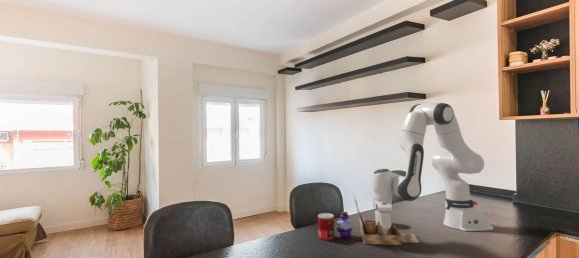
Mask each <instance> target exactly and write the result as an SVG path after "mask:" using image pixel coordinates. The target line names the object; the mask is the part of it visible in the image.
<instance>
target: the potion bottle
mask: <svg viewBox="0 0 579 258" xmlns="http://www.w3.org/2000/svg"><path fill="white" fill-rule="evenodd" d="M339 218H340V219H341V220H337V221H336V222H335V224H336V228H335V229H336V231H337V232H338V235H339V238H340V239H342V240H343V239H345V240H349V239H351V236H352V235H351V234H352V230H353V229H354V228H353V227H354V222H353V221H351V220H349V218H350V214H348V212H347V211H341V212H340V215H339Z"/></svg>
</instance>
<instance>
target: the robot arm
mask: <svg viewBox="0 0 579 258" xmlns="http://www.w3.org/2000/svg"><path fill="white" fill-rule="evenodd" d="M456 117H457V116H456V115H455V112H454V109H453V107H452V106H451V105H450V104H448V103H447V102H446V103H444V102H428V103H417V104H414V105H413V106H412V107H411V108H410V109H409V112H408V113H407V114H406V117H405V118H404V121H403V123H402V125H401V129H400V131H399V132H400V133H399V137H398V144H399V146H400V148H401V149H402V150H403V151H404V152H405V154H406V155H407V159H408V161H407V166H406V173H405V175H404V176H403V175H401V174H400V175H399V174H398V173H395V172H392V171H391V170H390V169H387V168H379V169H377V170H375V171H374V172H373V174H372V179H371V180H372V183H371V184H372V187H371V188H372V191H373V194H372V207H373V208H374V209H375V208H376V216H377V218H378V220H379V222H380V225H381V227H382V228H383V235H387V231H388V229H390V228H391V212H392V213H393V210H394V209H393V196H396V197H398V198H399V197H400V198H401V199H403V200H405V201H407V202H413V201H416V200H418V198H419V197H420V196H421V194H422V180H421V179H422V171H423V163H424V155H425V152H424V151H425V150H424V140H425V135H426V132H427V131H426V130H427V126H434V130H435V134H436V136H437V137H436V138H437V140H438V141H437V142H438V144H439V146H440V147H441V148H443V149H444V150H446V151H440V152H439V151H438V152H435V153H434V154H433V155H432V157H431V160H430V161H431V166H432V167H433V169H435V170H436V171H437V172H438V173H439V174H440V176H441V178H442V180H443V182H444V189H445V197H444V208H445V214H444V218H443V223H442V224H443V225H444V226H445V227H448V228H451V229H456V230H461V231H462V232H463V231H464V232H477V231H478V232H479V231H482V232H483V231H494V228H495V227H494V226H493V224H490V223H489V221H488V218H487V215H486V214H484V213H483V212H482V211H481V210H479V209H478V208H477V207H475V206H478V204H479V203H478V201H476V200H472V199H471V195H470V193H471V192H470V184H469V183H468V182H467V181H465V180H464V179H462V178H461V176H460V175H459V174H467V175H472V174H479V173H480V174H481V172H482V171H483V170H484V168H485V160H484V158H483V157H482V156H481V155H480V154H478V153H477V152H476V151H474V150H472V149H471V147H469V146H468V145H467V144H466V142H465V140H464V137H463V135H462V132H461V128H460V124H459V122H458V120H457V118H456Z"/></svg>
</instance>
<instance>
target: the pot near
mask: <svg viewBox="0 0 579 258" xmlns="http://www.w3.org/2000/svg"><path fill="white" fill-rule="evenodd" d="M377 226H378V235H383V228H382V227H381V225H380V222H377ZM387 235H389V229H388V231H387Z"/></svg>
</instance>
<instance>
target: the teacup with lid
mask: <svg viewBox="0 0 579 258" xmlns="http://www.w3.org/2000/svg"><path fill="white" fill-rule="evenodd" d="M374 212H375V213H374V215H375V220H376V225H377V222H379V220H378V218H377V216H376V208H374ZM391 225H393V211H392V212H391Z"/></svg>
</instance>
